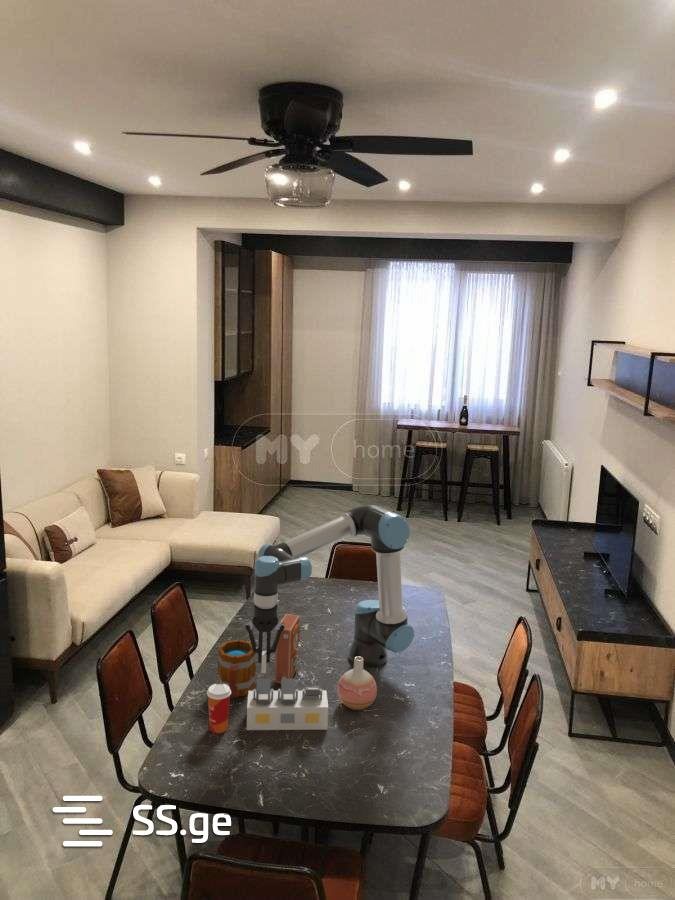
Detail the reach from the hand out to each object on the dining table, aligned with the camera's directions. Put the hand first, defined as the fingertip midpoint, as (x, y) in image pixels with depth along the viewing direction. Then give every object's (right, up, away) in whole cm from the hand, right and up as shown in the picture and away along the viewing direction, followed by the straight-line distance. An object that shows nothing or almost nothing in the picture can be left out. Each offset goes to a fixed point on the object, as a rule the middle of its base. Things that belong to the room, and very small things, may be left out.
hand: (263, 671), depth 231 cm
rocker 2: (+8, -6, -1) cm, 10 cm away
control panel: (+5, -11, +29) cm, 32 cm away
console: (+8, -17, +1) cm, 18 cm away
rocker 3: (+16, -6, -1) cm, 17 cm away
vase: (+31, -16, +12) cm, 37 cm away
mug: (-12, -13, +17) cm, 24 cm away
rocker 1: (0, -6, -2) cm, 6 cm away
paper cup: (-14, -17, -5) cm, 23 cm away
